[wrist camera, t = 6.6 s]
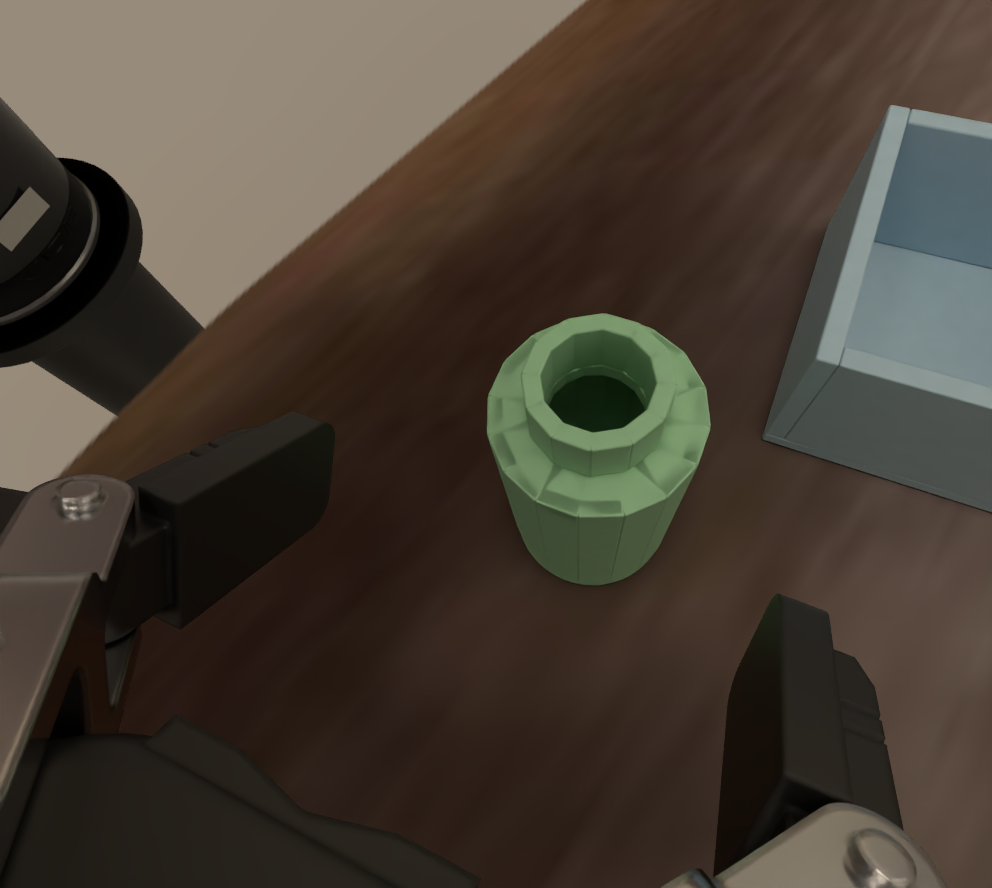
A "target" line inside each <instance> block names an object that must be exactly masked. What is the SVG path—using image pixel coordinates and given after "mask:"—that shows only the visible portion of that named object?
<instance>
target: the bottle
mask: <svg viewBox="0 0 992 888" xmlns="http://www.w3.org/2000/svg"><path fill="white" fill-rule="evenodd" d="M488 396H489V397H488V403H487V435H488V440H489V443H490V446H491V449H492V452H493V455H494V458H495V461H496V464H497V467H498V470H499V473H500V476H501V479H502V482H503V485H504V488H505V491H506V494H507V497H508V500H509V503H510V506H511V509H512V512H513V515H514V518H515V521H516V524H517V526H518V529H519V531H520V533H521V536H522V538H523V541H524V543H525V545H526V547H527V549H528V550H529V552H530V553H531V555H532V556H533V557H534V558H535V560H536V561H537V562H538V563H539V564H540V565H541V566H543V567H544V568H545V569H546V570H547V571H549V572H550V573H552V574H554V575H555V576H557V577H559V578H561V579H563V580H566V581H569V582H572V583H577V584H582V585H604V584H609V583H613V582H616V581H619V580H622V579H624V578H626V577H628V576H630V575H632V574H633V573H635V572H636V571H638V570H639V569H640V568H641V567H642V566H643V565H645V564H646V563H647V561H648V560H649V559H650V558H651V557H652V555H653V554H654V552H655V551H656V550H657V549H658V547H659V546H660V543H661V541H662V539H663V537H664V535H665V533H666V531H667V529H668V527H669V525H670V523H671V521H672V519H673V517H674V514H675V512H676V510H677V508H678V506H679V504H680V502H681V500H682V498H683V496H684V494H685V492H686V490H687V487H688V485H689V483H690V481H691V479H692V477H693V475H694V473H695V471H696V469H697V467H698V464H699V461H700V458H701V456H702V453H703V450H704V447H705V444H706V441H707V438H708V435H709V432H710V426H711V424H710V416H709V407H708V399H707V391H706V388H705V385H704V383H703V382H702V380H701V378H700V377H699V375H698V373H697V372H696V370H695V368H694V367H693V365H692V363H691V362H690V360H689V359H688V357H687V355H686V354H685V353H684V352H683V351H682V350H681V349H679V348H678V347H677V346H675V345H674V344H673V343H671V342H670V341H669V340H667V339H666V338H665V337H663V336H662V335H660V334H659V333H658V332H656V331H655V330H654V329H651V328H650V327H646V326H643V325H641V324H640V323H637V322H634V321H630V320H627V319H623V318H620V317H616V316H613V315H609V314H603V313H601V314H595V315H589V316H583V317H577V318H571V319H567V320H564V321H563V322H561V323H559V324H557V325H554V326H552V327H549V328H547V329H545V330H542V331H540V332H537V333H535V334H534V335H532V336H531V337H530V338H529V339H528V340H526V341H525V342H524V343H523V344H522V345H521V346H520V347H519V348H518V349H517V350H516V351H515V352H513V353H512V354H511V355H510V356H509V357H508V358H507V359H506V360H505V362H504V363H503V365H502V367H501V369H500V371H499V373H498V375H497V377H496V380H495V382H494V384H493V386H492V388H491V390H490V393H489V395H488Z"/></svg>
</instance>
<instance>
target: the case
mask: <svg viewBox="0 0 992 888" xmlns="http://www.w3.org/2000/svg"><path fill="white" fill-rule="evenodd" d="M762 439H763V440H766V441H769V442H772V443H775V444H778V445H782V446H785V447H788V448H791V449H794V450H797V451H800V452H804V453H807V454H810V455H813V456H816V457H819V458H822V459H825V460H829V461H832V462H835V463H838V464H841V465H844V466H847V467H851V468H854V469H857V470H860V471H863V472H866V473H869V474H873V475H876V476H879V477H882V478H885V479H888V480H891V481H895V482H898V483H901V484H904V485H907V486H910V487H913V488H916V489H920V490H923V491H926V492H929V493H932V494H935V495H938V496H942V497H945V498H948V499H951V500H954V501H957V502H960V503H964V504H967V505H970V506H973V507H976V508H979V509H982V510H986V511H989V512H992V124H991V123H985V122H980V121H975V120H969V119H964V118H959V117H953V116H948V115H942V114H937V113H932V112H926V111H921V110H916V109H912V110H911V111H910V109H909V108H905V107H900V106H894V105H891V106H890V107H889V108H888V110H887V112H886V114H885V116H884V118H883V120H882V122H881V124H880V126H879V127H878V129H877V131H876V133H875V135H874V137H873V139H872V141H871V143H870V145H869V147H868V149H867V151H866V153H865V155H864V157H863V159H862V161H861V163H860V165H859V167H858V169H857V170H856V172H855V174H854V176H853V178H852V180H851V182H850V184H849V186H848V188H847V190H846V192H845V194H844V196H843V198H842V200H841V202H840V204H839V206H838V208H837V210H836V211H835V213H834V215H833V217H832V220H831V221H830V223H829V225H828V227H827V230H826V233H825V236H824V239H823V243H822V246H821V249H820V252H819V256H818V259H817V262H816V265H815V269H814V272H813V275H812V278H811V281H810V285H809V288H808V291H807V294H806V298H805V301H804V304H803V307H802V310H801V314H800V317H799V320H798V323H797V327H796V330H795V333H794V336H793V339H792V343H791V346H790V349H789V352H788V356H787V359H786V362H785V365H784V369H783V372H782V375H781V378H780V381H779V385H778V388H777V391H776V394H775V398H774V401H773V404H772V407H771V410H770V414H769V417H768V420H767V423H766V427H765V430H764V433H763V436H762Z"/></svg>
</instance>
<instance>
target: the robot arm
mask: <svg viewBox="0 0 992 888" xmlns="http://www.w3.org/2000/svg"><path fill="white" fill-rule="evenodd" d="M103 228H104V220H103V213H102V209H101V206H100V204H99V202H98V200H97V198H96V197H95V195H94V194H93V193H92V192H91V191H90V190H89V189H88V188H87V186H86V185H85V184H84V183H83V182H82V181H81V180H80V179H78V178H77V177H76V176H74V175H73V174H71V173H70V172H69V171H68V170H67V169H66V168H65V166H64V165H63V164H62V163H61V162H60V161H59V160H58V159H57V158H56V157H55V156H54V155H53V154H52V153H51V151H49V149H48V148H47V147H46V146H45V145H44V144H43V143H42V142H41V141H40V140H39V139H38V138H37V136H35V134H34V133H33V132H32V131H31V129H29V127H28V126H27V125H26V124H25V123H24V122H23V121H22V120H21V119H20V118H19V117H18V116H17V115H16V114H15V113H14V111H13V110H12V109H11V108H10V107H9V106H8V105H7V104H6V103H5V102H4V101H3V100H2V99H1V98H0V330H2V329H5V328H9V327H12V326H15V325H18V324H21V323H23V322H25V321H28V320H30V319H32V318H34V317H36V316H38V315H39V314H41V313H43V312H44V311H46V310H48V309H49V308H50V307H52V306H53V305H55V304H56V303H57V302H59V301H60V300H61V299H62V298H63V297H65V296H66V295H67V294H68V293H69V292H70V291H71V290H72V289H73V288H74V287H75V286H76V285H77V284H78V283H79V281H80V280H81V279H82V278H83V276H84V275H85V274H86V272H87V271H88V269H89V268H90V266H91V264H92V263H93V261H94V259H95V257H96V255H97V252H98V250H99V247H100V244H101V240H102V236H103ZM334 443H335V432H334V429H333V427H332V426H331V425H330V424H328V423H325V422H323V421H320V420H317V419H315V418H312V417H309V416H307V415H304V414H301V413H299V412H295V411H292V412H289V413H287V414H285V415H283V416H281V417H279V418H277V419H274V420H272V421H270V422H268V423H266V424H264V425H262V426H256V427H251V428H246V429H241V430H236V431H231V432H229V433H227V434H225V435H223V436H221V437H219V438H217V439H214V440H212V441H210V442H209V444H208V445H206V444H204V445H202V446H200V447H198V448H195V449H193V450H191V452H190V454H187V453H185V454H183V455H181V456H179V457H176V458H174V459H172V460H170V461H168V462H166V463H164V464H162V465H159V466H157V467H155V468H153V469H151V470H149V471H147V472H145V473H143V474H140V475H138V476H136V477H134V478H132V479H130V480H128V481H126V482H123V481H121V480H119V479H116V478H113V477H109V476H103V475H92V474H91V475H73V476H66V477H61V478H57V479H54V480H51V481H48V482H45V483H43V484H41V485H39V486H37V487H35V488H34V489H32V490H31V491H30V492H24V491H18V490H13V489H7V488H1V487H0V888H478V886H479V883H480V880H481V878H479V877H477V876H475V875H473V874H471V873H469V872H468V871H466V870H464V869H462V868H460V867H458V866H456V865H455V864H453V863H451V862H449V861H447V860H445V859H443V858H442V857H440V856H438V855H436V854H434V853H432V852H431V851H429V850H427V849H425V848H423V847H421V846H419V845H418V844H416V843H414V842H412V841H410V840H408V839H406V838H405V837H403V836H401V835H399V834H396V833H392V832H388V831H383V830H379V829H375V828H371V827H367V826H363V825H358V824H354V823H350V822H346V821H342V820H338V819H333V818H329V817H325V816H321V815H317V814H313V813H310V812H307V811H305V810H303V809H301V808H300V807H299V806H298V805H297V804H296V803H295V802H294V801H293V800H292V799H291V798H290V797H289V796H288V795H287V794H286V793H285V792H284V791H283V790H282V789H281V788H280V787H279V786H278V785H277V784H276V783H275V782H274V781H273V780H272V779H271V778H270V777H269V776H268V775H267V774H266V773H265V772H264V771H263V770H262V769H261V768H260V767H259V766H258V765H257V764H256V763H255V762H254V761H253V760H252V759H251V758H250V757H249V756H248V755H247V754H246V753H245V752H244V751H243V750H241V749H240V748H238V747H236V746H234V745H232V744H230V743H228V742H227V741H225V740H223V739H221V738H219V737H217V736H215V735H214V734H212V733H210V732H208V731H206V730H204V729H203V728H201V727H199V726H197V725H195V724H193V723H191V722H190V721H188V720H186V719H184V718H182V717H180V716H178V715H177V714H176V715H175V716H174V717H173V718H172V719H171V720H169V721H168V722H167V723H166V724H165V725H164V726H163V727H162V728H161V729H160V730H158V731H157V732H156V733H155V734H154V735H153V736H147V735H138V734H129V733H118V730H119V725H120V722H121V718H122V714H123V710H124V706H125V702H126V698H127V694H128V690H129V686H130V682H131V678H132V674H133V671H134V667H135V663H136V659H137V655H138V651H139V647H140V643H141V638H142V630H141V624H142V623H144V622H145V621H147V620H148V619H149V618H151V617H152V616H154V617H156V618H158V619H160V620H162V621H164V622H166V623H168V624H170V625H172V626H174V627H176V628H178V629H182V628H183V627H184V626H186V625H187V624H188V623H190V622H191V621H192V620H194V619H195V618H196V617H197V616H199V615H200V614H201V613H203V612H204V611H205V610H207V609H208V608H209V607H210V606H212V605H213V604H214V603H216V602H217V601H218V600H220V599H221V598H222V597H224V596H225V595H226V594H227V593H229V592H230V591H231V590H233V589H234V588H235V587H237V586H238V585H239V584H240V583H242V582H243V581H244V580H246V579H247V578H248V577H250V576H251V575H252V574H254V573H255V572H256V571H257V570H259V569H260V568H261V567H263V566H264V565H265V564H267V563H268V562H269V561H270V560H272V559H273V558H274V557H276V556H277V555H278V554H280V553H281V552H282V551H283V550H285V549H286V548H287V547H289V546H290V545H291V544H293V543H294V542H295V541H297V540H298V539H299V538H300V537H302V536H303V535H304V534H306V533H307V532H308V531H310V530H311V529H312V528H313V527H314V526H315V525H316V524H317V523H318V522H319V520H320V519H321V517H322V515H323V514H324V512H325V509H326V507H327V504H328V500H329V492H330V482H331V473H332V463H333V453H334ZM879 717H880V711H879V706H878V701H877V696H876V691H875V687H874V685H873V684H872V682H871V681H870V679H869V678H868V676H867V675H866V674H865V672H864V671H863V669H862V668H861V666H860V665H859V663H858V662H857V660H856V659H855V657H852V656H849V655H847V654H844V653H842V652H839V651H837V650H834V649H833V642H832V634H831V627H830V619H829V615H828V613H827V612H826V611H823V610H821V609H818V608H815V607H813V606H810V605H807V604H805V603H802V602H799V601H797V600H794V599H791V598H789V597H786V596H783V595H781V594H776V595H775V596H774V597H773V598H772V600H771V601H770V603H769V605H768V607H767V609H766V611H765V613H764V615H763V617H762V619H761V621H760V623H759V625H758V628H757V630H756V632H755V634H754V636H753V638H752V640H751V642H750V644H749V646H748V648H747V650H746V652H745V654H744V656H743V658H742V660H741V663H740V665H739V667H738V669H737V672H736V674H735V677H734V680H733V683H732V686H731V690H730V694H729V699H728V706H727V717H726V729H725V741H724V753H723V765H722V777H721V789H720V801H719V813H718V826H717V838H716V850H715V862H714V874H713V878H711V879H709V877H708V876H707V875H706V874H705V872H704V871H703V870H702V869H693V870H690V871H688V872H686V873H684V874H682V875H680V876H678V877H677V878H675V879H673V880H672V881H670V882H669V883H667V884H665V885H664V886H662V887H661V888H947V885H946V883H945V881H944V879H943V877H942V875H941V874H940V872H939V870H938V869H937V867H936V866H935V864H934V863H933V861H932V860H931V859H930V858H929V856H928V855H927V854H926V853H925V851H924V850H923V849H922V848H921V847H920V846H919V845H918V844H917V843H916V842H915V841H914V840H913V839H912V838H911V837H910V836H909V835H908V834H906V833H905V832H904V830H903V825H902V820H901V815H900V810H899V805H898V800H897V795H896V790H895V785H894V780H893V775H892V770H891V766H890V761H889V756H888V751H887V746H886V745H885V744H884V740H885V736H884V731H883V726H882V721H880V720H879Z"/></svg>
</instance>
